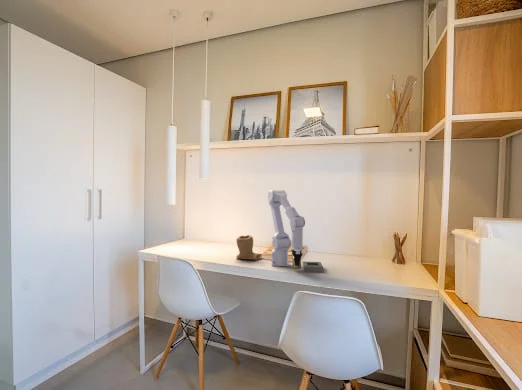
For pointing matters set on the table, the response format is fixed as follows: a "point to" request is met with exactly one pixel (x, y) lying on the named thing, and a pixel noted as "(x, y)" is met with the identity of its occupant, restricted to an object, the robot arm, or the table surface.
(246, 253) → the brown boot
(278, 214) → the robot arm
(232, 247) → the table surface
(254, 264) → the table surface
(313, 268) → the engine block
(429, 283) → the table surface
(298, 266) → the piston
